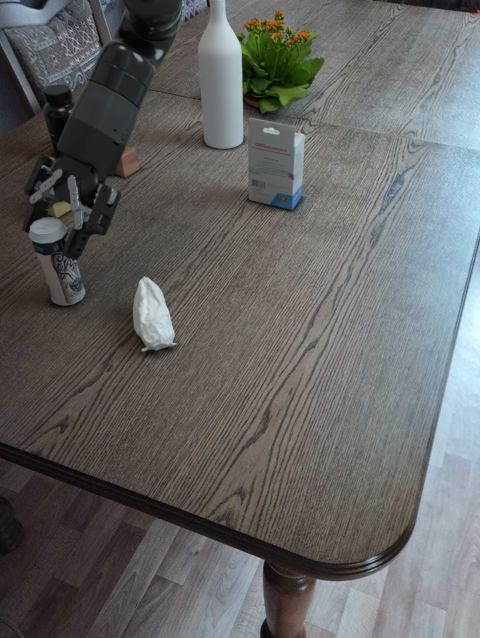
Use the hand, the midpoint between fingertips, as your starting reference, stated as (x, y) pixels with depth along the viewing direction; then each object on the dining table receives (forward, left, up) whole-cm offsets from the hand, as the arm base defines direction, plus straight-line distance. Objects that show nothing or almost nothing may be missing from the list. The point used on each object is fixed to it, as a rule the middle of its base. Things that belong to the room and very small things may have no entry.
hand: (48, 245), depth 72 cm
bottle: (-11, +53, -9) cm, 54 cm away
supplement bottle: (-33, +32, -9) cm, 47 cm away
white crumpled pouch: (+15, +3, -9) cm, 18 cm away
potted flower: (-16, +75, -9) cm, 77 cm away
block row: (-19, +24, -9) cm, 32 cm away
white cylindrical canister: (0, +1, -9) cm, 9 cm away
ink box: (+10, +40, -9) cm, 42 cm away
